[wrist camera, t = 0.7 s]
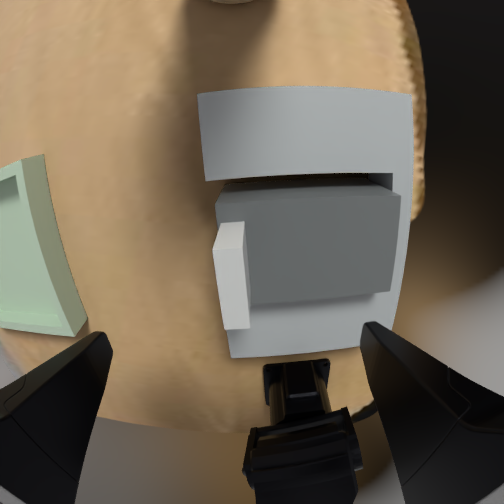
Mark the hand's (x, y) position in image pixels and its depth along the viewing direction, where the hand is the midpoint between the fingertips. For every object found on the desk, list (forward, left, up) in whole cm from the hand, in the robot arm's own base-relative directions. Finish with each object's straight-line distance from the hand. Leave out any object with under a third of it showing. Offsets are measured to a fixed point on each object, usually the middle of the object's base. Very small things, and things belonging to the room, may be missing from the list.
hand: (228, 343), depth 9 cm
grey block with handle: (0, -4, -13) cm, 14 cm away
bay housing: (0, -4, -13) cm, 13 cm away
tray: (0, +24, -13) cm, 27 cm away
